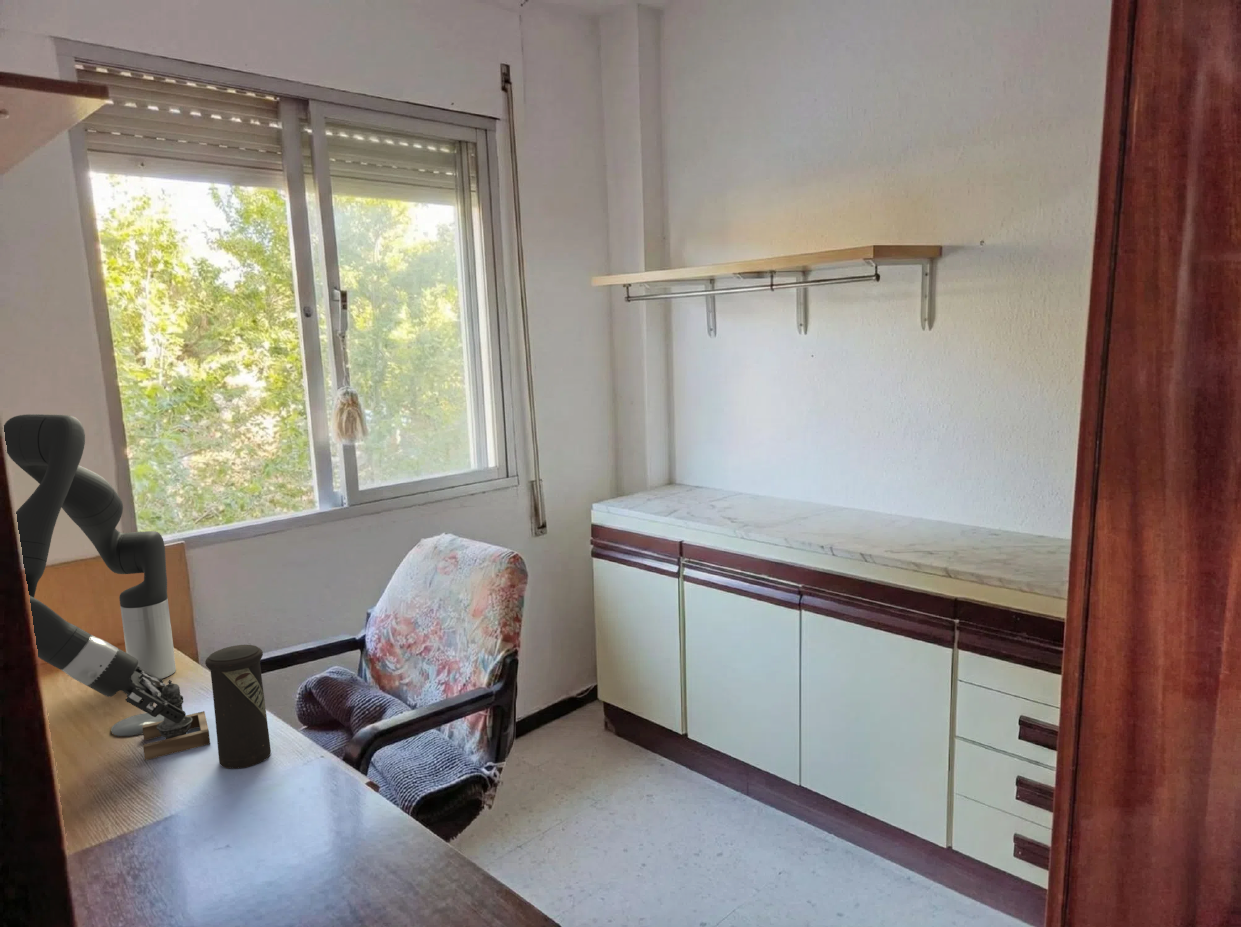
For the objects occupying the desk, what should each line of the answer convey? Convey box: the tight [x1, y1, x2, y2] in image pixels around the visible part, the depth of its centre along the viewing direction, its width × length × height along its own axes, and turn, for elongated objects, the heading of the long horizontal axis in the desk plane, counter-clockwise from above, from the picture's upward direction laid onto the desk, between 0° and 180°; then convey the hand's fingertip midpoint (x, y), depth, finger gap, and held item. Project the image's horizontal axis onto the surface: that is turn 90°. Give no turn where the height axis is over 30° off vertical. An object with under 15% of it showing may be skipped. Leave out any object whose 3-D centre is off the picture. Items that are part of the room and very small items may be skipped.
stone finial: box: [156, 679, 193, 739], centre depth 147 cm, size 6×6×12 cm
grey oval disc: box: [110, 712, 164, 737], centre depth 155 cm, size 9×9×1 cm
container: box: [204, 644, 272, 769], centre depth 139 cm, size 9×9×20 cm
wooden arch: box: [142, 710, 211, 761], centre depth 148 cm, size 10×10×2 cm
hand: (181, 710), depth 148 cm, fingers open, 8 cm apart
